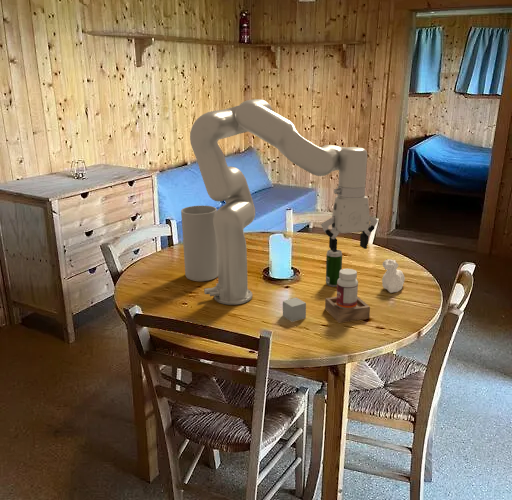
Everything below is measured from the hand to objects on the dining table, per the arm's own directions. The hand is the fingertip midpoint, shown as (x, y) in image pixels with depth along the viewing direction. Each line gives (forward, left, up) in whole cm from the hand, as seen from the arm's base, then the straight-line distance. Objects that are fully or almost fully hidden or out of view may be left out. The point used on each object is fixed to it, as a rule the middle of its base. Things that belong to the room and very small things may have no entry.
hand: (348, 249), depth 153 cm
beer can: (+6, +23, -21) cm, 32 cm away
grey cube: (-16, +3, -21) cm, 26 cm away
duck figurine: (+23, +13, -21) cm, 34 cm away
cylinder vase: (-36, +46, -21) cm, 62 cm away
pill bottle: (0, 0, -19) cm, 19 cm away
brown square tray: (0, 0, -21) cm, 21 cm away
